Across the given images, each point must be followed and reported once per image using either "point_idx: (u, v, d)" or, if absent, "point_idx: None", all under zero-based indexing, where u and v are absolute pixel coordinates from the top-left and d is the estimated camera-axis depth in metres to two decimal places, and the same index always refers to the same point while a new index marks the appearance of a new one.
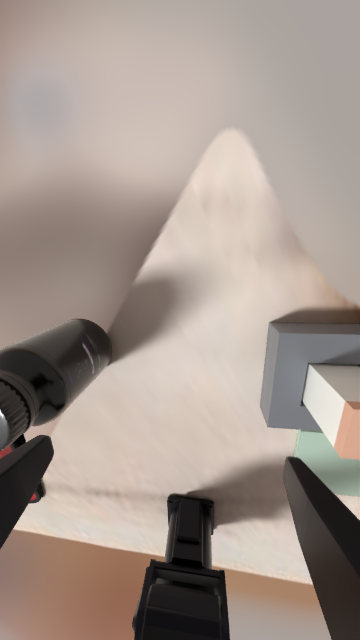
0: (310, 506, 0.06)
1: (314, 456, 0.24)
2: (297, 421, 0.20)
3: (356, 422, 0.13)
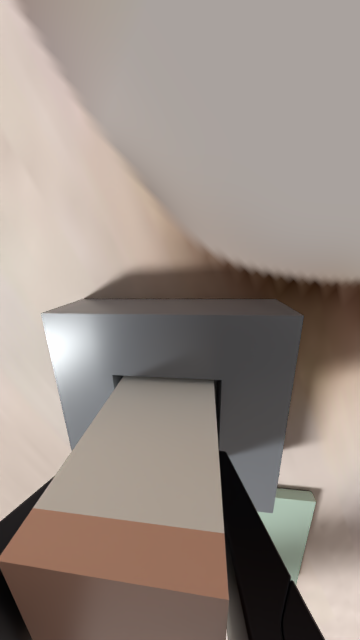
0: None
1: None
2: None
3: (29, 595, 0.04)
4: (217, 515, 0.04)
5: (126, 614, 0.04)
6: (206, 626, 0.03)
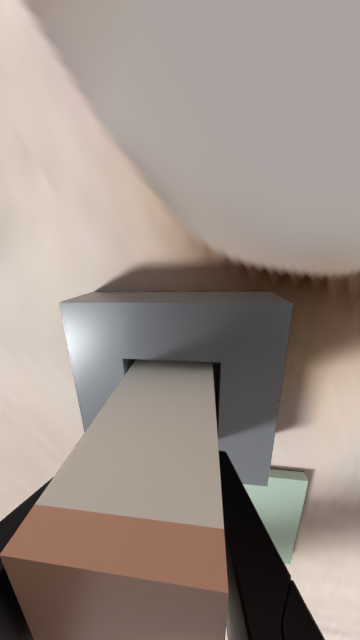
0: None
1: None
2: None
3: (30, 591, 0.04)
4: (217, 511, 0.04)
5: (127, 609, 0.04)
6: (206, 620, 0.04)
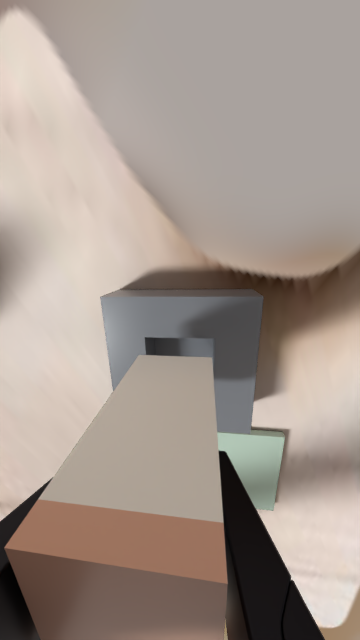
0: None
1: None
2: None
3: (34, 583, 0.04)
4: (217, 506, 0.04)
5: (128, 600, 0.04)
6: (206, 611, 0.04)
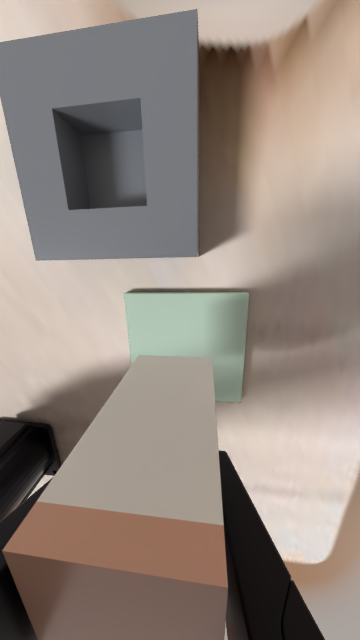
0: None
1: (152, 337, 0.16)
2: (73, 243, 0.12)
3: (33, 586, 0.04)
4: (217, 508, 0.04)
5: (128, 604, 0.04)
6: (206, 615, 0.04)
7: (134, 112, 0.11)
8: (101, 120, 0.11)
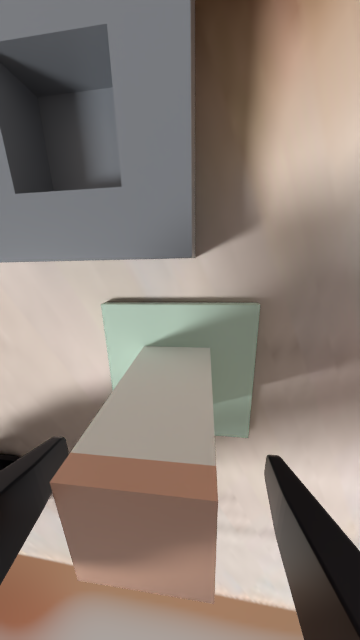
0: (285, 503, 0.06)
1: None
2: (25, 239, 0.09)
3: (71, 512, 0.05)
4: (211, 455, 0.06)
5: (144, 521, 0.05)
6: (202, 526, 0.05)
7: (102, 53, 0.08)
8: (58, 68, 0.08)
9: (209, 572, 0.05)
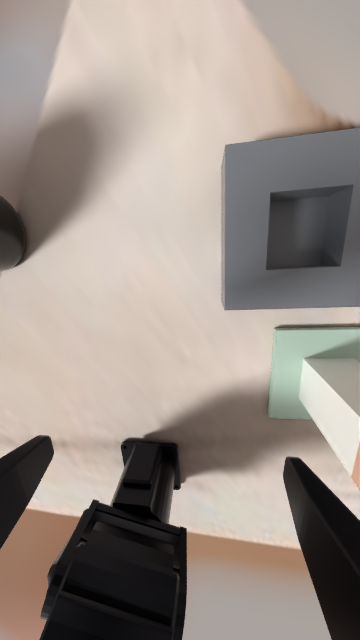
0: (310, 506, 0.06)
1: (296, 367, 0.18)
2: (264, 296, 0.14)
3: None
4: None
5: None
6: None
7: (332, 190, 0.13)
8: (296, 195, 0.13)
9: None
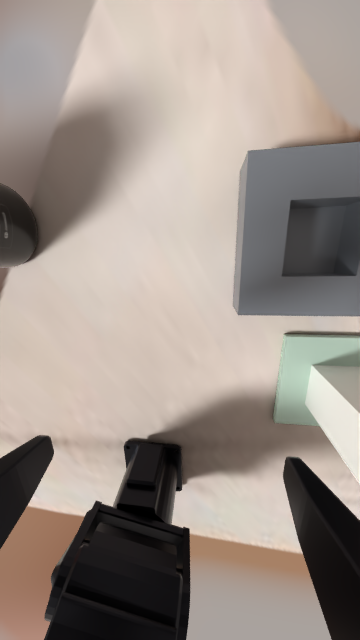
0: (310, 506, 0.06)
1: (304, 373, 0.18)
2: (278, 302, 0.14)
3: None
4: None
5: None
6: None
7: (351, 200, 0.13)
8: (314, 203, 0.14)
9: None
